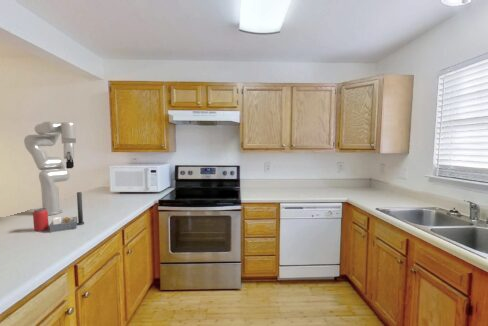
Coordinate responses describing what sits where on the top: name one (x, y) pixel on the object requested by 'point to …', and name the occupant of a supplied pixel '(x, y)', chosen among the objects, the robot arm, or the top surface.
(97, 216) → the top surface
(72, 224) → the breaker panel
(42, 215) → the beer can
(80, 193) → the post
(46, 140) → the robot arm
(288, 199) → the top surface
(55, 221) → the white block
